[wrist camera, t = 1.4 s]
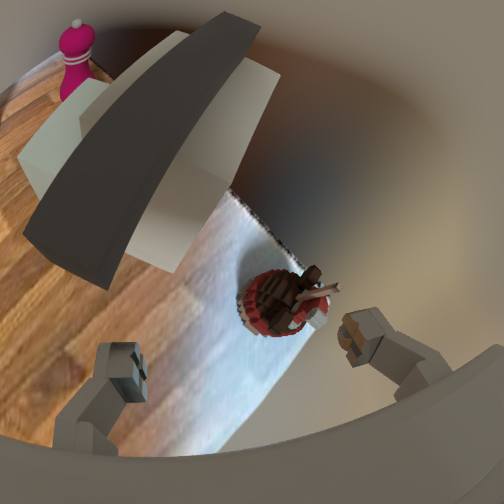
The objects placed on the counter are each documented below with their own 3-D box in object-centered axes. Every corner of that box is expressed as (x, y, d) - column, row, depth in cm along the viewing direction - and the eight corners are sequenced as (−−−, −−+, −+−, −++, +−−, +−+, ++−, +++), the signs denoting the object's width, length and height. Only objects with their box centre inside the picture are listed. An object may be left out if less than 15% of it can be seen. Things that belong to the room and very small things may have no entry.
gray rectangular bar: (107, 290, 12) (96, 273, 8) (49, 261, 11) (22, 233, 8) (243, 59, 21) (261, 26, 17) (209, 44, 20) (224, 11, 16)
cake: (261, 263, 45) (330, 222, 30) (301, 300, 46) (381, 278, 31) (221, 313, 40) (280, 297, 25) (267, 351, 41) (345, 355, 26)
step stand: (173, 273, 39) (231, 183, 16) (48, 214, 33) (-11, 88, 11) (206, 196, 45) (280, 75, 22) (93, 146, 39) (91, 10, 16)
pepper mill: (72, 92, 40) (71, 9, 22) (102, 96, 42) (109, 10, 24) (56, 116, 37) (45, 30, 20) (87, 121, 40) (85, 30, 22)
